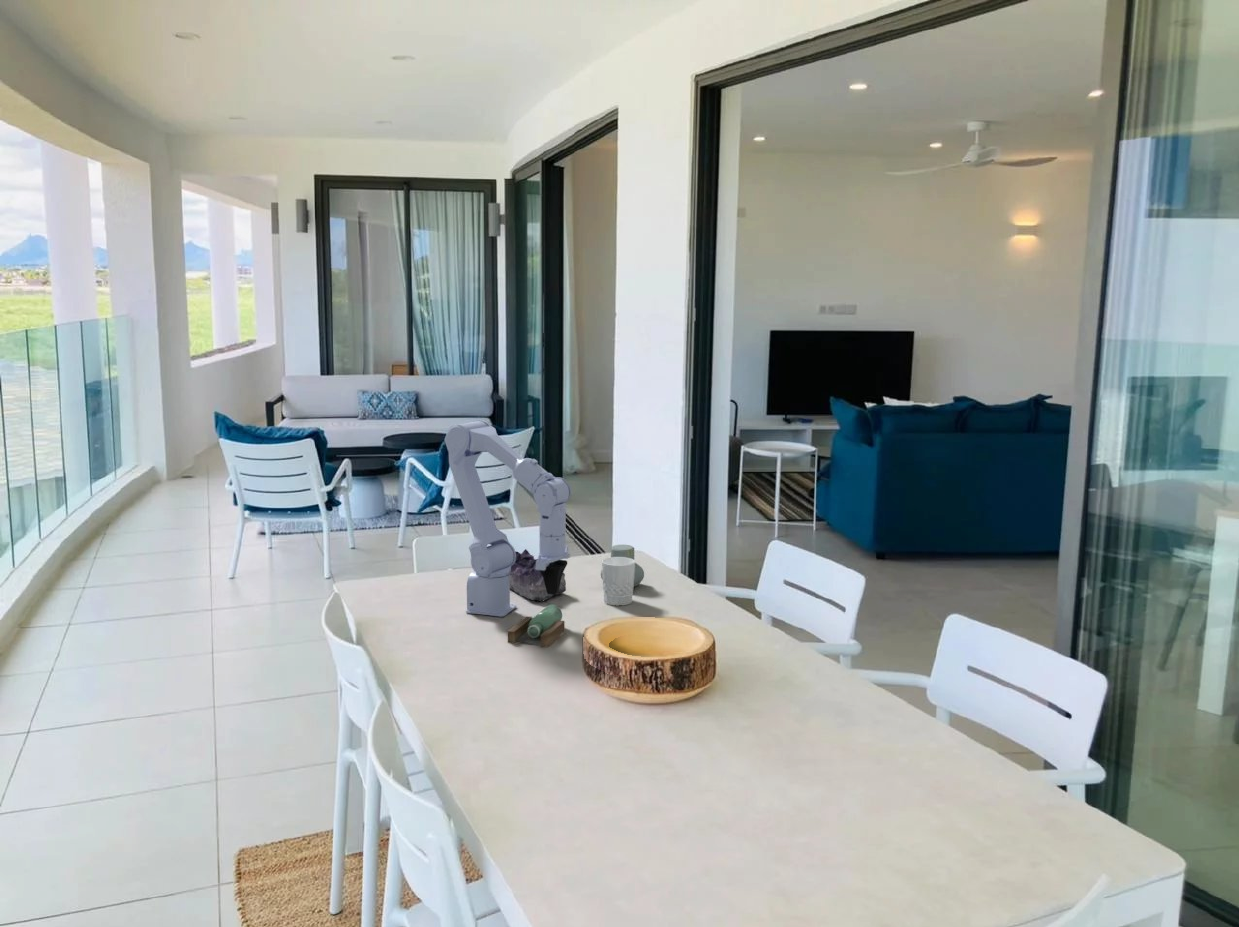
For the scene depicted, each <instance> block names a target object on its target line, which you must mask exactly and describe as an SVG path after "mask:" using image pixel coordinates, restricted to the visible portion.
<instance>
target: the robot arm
mask: <svg viewBox="0 0 1239 927" xmlns="http://www.w3.org/2000/svg"><path fill="white" fill-rule="evenodd" d="M444 442H445V445H446V449H447V452H448V464H449V468H450V471H451V474H452V477H453V479H454V483H455V485H456V488H457V491H458V494H459V497H460V500H461V504H462V505H463V508H464V511H465V512H464V513H465V514H466V517H467V520H468V523H469V526H470V528H471V531H472V535H473V538H472V541H470V542H471V543H470V544H469V547H468V550H469V552H470V564H471V568H472V570H473V571H471V572H470V574H469V575H468V577H467V580H466V609H465V613H467V614H474V615H475V614H476V615H483V616H492V617H493V616H494V617H499V618H500V617H503V618H504V617H505V616H506V615H507V614H509V613H510V612H512V611H513V610H514V609H516V607H517V604H511V598H510V597H511V596H510V594H511V592H510V591H511V589H510V574H509V572H510V571H511V566H512V565H513V564H514V563H515V560H516V552H517V551H516V549H515V548H514V545H512V543H511V542H510V541H509V539H508V537H507V534H506V533H504V532H503V531H501V530H500V529H498V528H497V525H496V523H495V519H494V517H493V514H492V510H491V507H490V505H489V503H488V498H487V496H486V493H485V490H484V488H483V485H482V484H483V483H482V482H481V478H480V476H479V473H478V470H477V467H476V464H477V462H478V459H479V458H480V456H481V455H482V454H483V453H484V452H486V453H488V454H490V455H491V456H492V457H494V458H495V459H497V460H498V461H499V462H501V464H503V465H505V466H506V467H508V468H509V470H512V476H513V479H514V480H516V481H517V482H518V483H519V484H520V485H522V486H523V487H524V488H525V489H526V490H528V492H530V493H531V494H533V500H534V502H535V503H536V505H537V512H538V515H539V518H538V519H539V520H538V521H539V528H538V529H539V533H538V534H539V539H538V540H539V552H538V555H537V559H538V560H537V561H536V570H540V572H541V574H542V577H543V579H544V583H545V587H546V591H547V594H553V595H554V596H556V594H557V593H558V591H559V587H560V582H561V578H562V574H563V573H565V570H566V567H567V566H568V559H570V558H571V555H572V554H571V553H569V545H566V530H567V528H566V526H567V525H566V522H567V521H566V520H567V519H566V518H567V517H566V516H567V515H566V509H567V508H566V507H567V506H566V502H568V501H569V500H570V497H571V493H572V492H571V487H570V485H569V483H568V482H567V481H566V480H565V478H563V477H556V476H554V475H553V474H552V473H551V472H548V471H547V470H546V469H544V468H543V467H542V466H541V465H540V464H538V463H539V461H538V460H537V459H535V458H529V457H526V458H523V457H522V456H521V455H520V454H518V453H517V452H516V451H515V450H514V449H513V447H511V446H510V445H509V444H508V443H507V442H506V441H505V439H503V438H502V437H501V436H500V435H498V433H497V430H496V428H495V427H494V426H492V425H490V424H489V422H487V421H486V420H483V419H479V420H477V421H472V422H465V423H461V424H460V423H456V424H452V425H451V426H450V427H449V428H448V430H447V433H446V435H445V437H444ZM515 551H516V552H515ZM565 559H567V560H565ZM557 595H558V594H557Z"/></svg>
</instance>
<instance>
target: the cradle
mask: <svg viewBox="0 0 1239 927" xmlns="http://www.w3.org/2000/svg"><path fill="white" fill-rule="evenodd" d="M532 619H533V617H532V616H525V617H523V618H522V619H521V620H519V622H517V623H516V624H515V625H513V626H512V627H511V628H509V629H508V630H507V643H509V644H516V643H518V644H523V645H524V644H525V645H534V646H540V647H542V648H548V647H550V646H551V645H552V644H553V643H554V642H555V641H556V640H558V639H559V638H560V637H561V636H562V635H563V634H564V633H565V620H561V621H560V620H558V621H557V622H555V623H554V624H553V625H552V626H551V627H550V628H548V629H547V630H546V631H545V632H544V633H543V634H541V637H535V638H533V637H531V636H529V634H528V628H529V622H530V621H531V620H532Z"/></svg>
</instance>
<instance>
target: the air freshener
mask: <svg viewBox="0 0 1239 927" xmlns="http://www.w3.org/2000/svg"><path fill="white" fill-rule="evenodd" d="M610 557H626V558H631V559H633V560H635V547H634V546H632V545H630V544H615V545H613V546H611V547H610ZM600 578H601V580H602V581H603V576H602V569H601V570H600ZM644 578H645V571H644V569H643V567H642V566H641V565H640V564H638V563H636V562H635V572H634V587H635V586H638V585H639V584H640V583H641V582H643V580H644Z"/></svg>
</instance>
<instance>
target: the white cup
mask: <svg viewBox="0 0 1239 927" xmlns="http://www.w3.org/2000/svg"><path fill="white" fill-rule="evenodd" d="M635 563H636V560H635V559H634V560H633V559H631V558H626V557H611V556H610V557H606V558H604V559H602V560H601V568H602V569H601V570H602V576H603V580H602V587H603V588H602V590H603V601H604V603H605V604H606V605H610V606H615V605H616V607H617V606H618V607H619V605H622V606H628V605H630V604H633V592H634V587H635V586H634V572H635Z"/></svg>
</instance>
